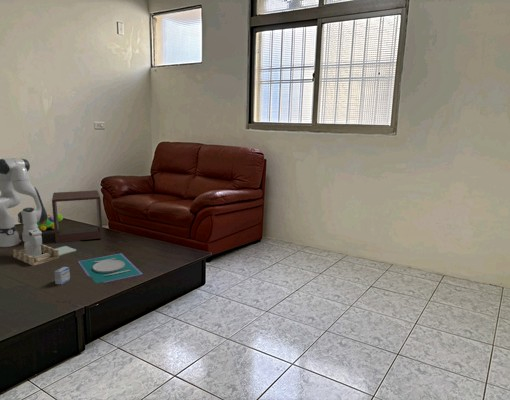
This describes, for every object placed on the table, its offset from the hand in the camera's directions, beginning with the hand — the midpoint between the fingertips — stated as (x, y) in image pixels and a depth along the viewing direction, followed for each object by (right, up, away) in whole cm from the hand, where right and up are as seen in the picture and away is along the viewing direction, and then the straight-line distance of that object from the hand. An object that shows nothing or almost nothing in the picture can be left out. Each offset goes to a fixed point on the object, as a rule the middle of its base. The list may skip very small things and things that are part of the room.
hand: (32, 249), depth 269 cm
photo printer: (0, -6, +1) cm, 6 cm away
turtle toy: (-26, +10, +70) cm, 76 cm away
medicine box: (+41, -15, -38) cm, 57 cm away
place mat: (+60, -11, -13) cm, 62 cm away
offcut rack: (+3, -6, -1) cm, 7 cm away
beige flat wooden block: (+9, -8, -5) cm, 13 cm away
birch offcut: (+10, -6, -5) cm, 12 cm away
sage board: (+14, -3, +13) cm, 20 cm away
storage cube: (+9, +5, +51) cm, 52 cm away
